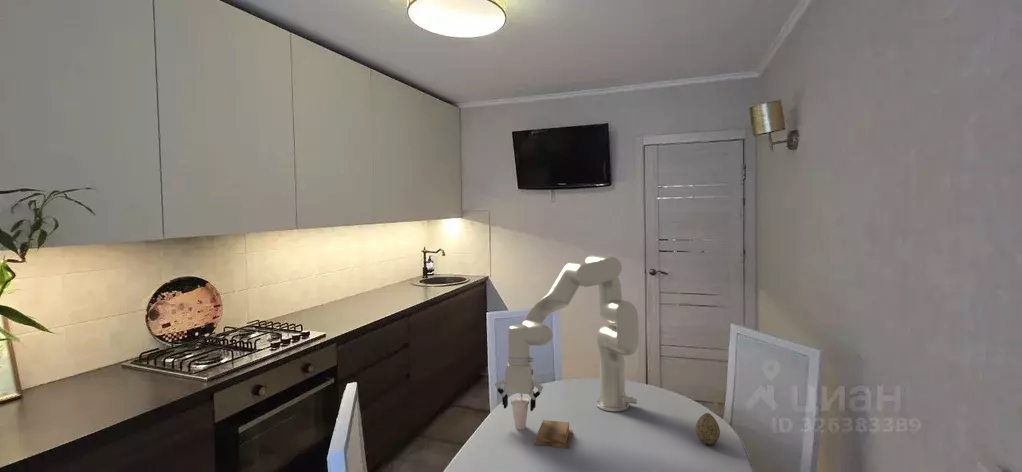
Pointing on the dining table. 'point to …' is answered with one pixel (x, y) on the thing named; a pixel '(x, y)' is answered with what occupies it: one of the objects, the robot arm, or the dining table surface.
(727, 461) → the dining table surface
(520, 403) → the smoothie
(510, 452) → the dining table surface
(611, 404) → the robot arm
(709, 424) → the decorative egg
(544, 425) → the pedestal
